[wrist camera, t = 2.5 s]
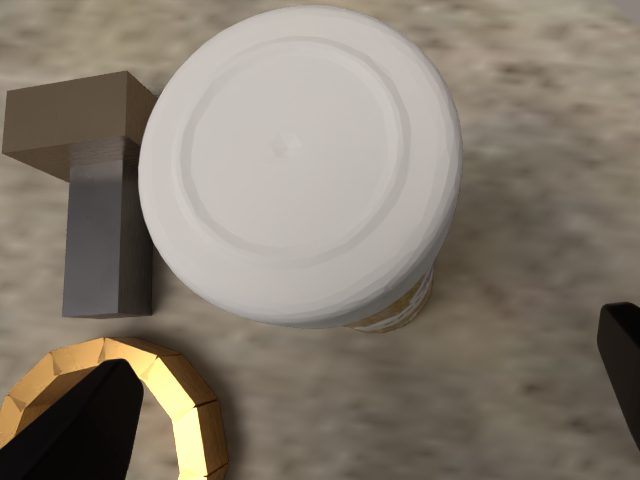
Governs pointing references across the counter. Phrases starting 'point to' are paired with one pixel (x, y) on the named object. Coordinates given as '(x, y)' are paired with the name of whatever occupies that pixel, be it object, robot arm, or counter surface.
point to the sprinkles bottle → (304, 170)
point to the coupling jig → (105, 256)
